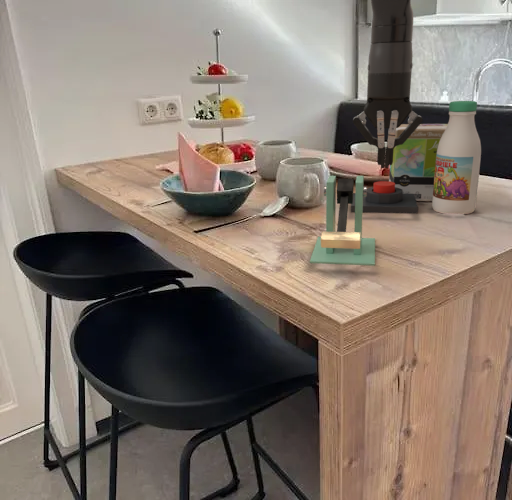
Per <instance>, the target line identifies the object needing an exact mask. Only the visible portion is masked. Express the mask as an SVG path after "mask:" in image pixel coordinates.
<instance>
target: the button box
mask: <svg viewBox="0 0 512 500" xmlns="http://www.w3.org/2000/svg"><path fill="white" fill-rule="evenodd" d="M373 187H374V186H371V187H367V196H363V214H408V215H410V214H411V215H413V214H415V215H417V214H418V213H419V211H418V210H419V206H418V201H416V199H415V195H414V194H403V190H402V189H400V188H397V187H395V192H394V193H376V192H373ZM350 213H355V192H353V204H350Z"/></svg>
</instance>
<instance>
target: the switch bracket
mask: <svg viewBox="0 0 512 500" xmlns="http://www.w3.org/2000/svg"><path fill="white" fill-rule="evenodd" d="M364 182H365V176H364V175H357V176H356V179H355V190H354V193H355V212H354V228H353V229H354V231H353V232H360V233H361V239H360V249H348V248H321V236H317V239H316V241H315V245H314V247H313V251H312V253H311V256H310V259H309V264H323V265H348V266H371V267H375V266H376V238H375V237H363V219H364V218H363V214H364V213H363V196H367V189H368V186H364ZM323 196H324V197H326V199H325V201H326V202H325V203H326V205H325V211H326V212H325V213H326V214H325V231H328V232H336V211H337V210H336V208H337V205H336V204H337V175H328V177H327V180H326V183H325V185H324V187H323Z"/></svg>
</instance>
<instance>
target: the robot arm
mask: <svg viewBox="0 0 512 500" xmlns="http://www.w3.org/2000/svg"><path fill="white" fill-rule="evenodd" d="M411 2H412V1H411V0H370V4H371V16H372V17H371V24H370V27H371V28H370V46H369V53H368V64H367V90H366V103H365V105H364V107H363V111H361V113H359V114H358V115H356V116H354V117H353V119H352V124H353V125H354V126H355V128H356V129H357V130H358V131H359V133H360V134H361V135H362V137H363V138H364V140H365V141H366V142H367V144H368V145H370V146H375V147H376V148H377V165H378V166H380V169H390V165H392V163H393V151H394V147H396V146H398V145H402V144H403V143H404V142H405V141H406V140H407V139H408V138H409V136H410V135H411V134H412V133H413V132H414V131H415V130H416V128H417V127H418V126H419V125H420V124H423V120H424V118H423V117H422V116H421V115H418V114H417V113H416V112H415V111H413V106H412V103H411V86H412V74H413V73H412V70H413V67H414V64H413V57H414V56H413V34H414V10H413V7H412V3H411ZM366 117H367V119H368V121H369V122H370V123H371V125H372V126H373V127H374V128H375V129H376V130H377V132H376V134H377V137H375V136H374V135H373V134H372V133H371V131H370V130H369V128H368V127H367V126H366V124H367V119H366ZM408 117H409V118H408ZM407 118H408V119H407ZM406 119H407V124H409V125H408V126H407V127H406V129H405V130H404V131H403V132H402V133H401V134H400V136H399V137H398V138H395V134H396V128H398V127H400V125H401V124H404V122H405V121H406ZM385 129H388V132H387V140H386V142H385Z"/></svg>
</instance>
